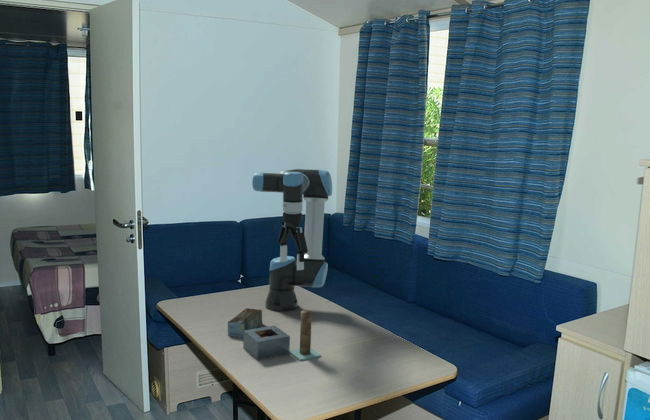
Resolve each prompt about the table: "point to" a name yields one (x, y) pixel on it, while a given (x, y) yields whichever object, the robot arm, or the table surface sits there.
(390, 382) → the table surface
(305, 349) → the brown rounded rod
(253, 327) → the beverage carton
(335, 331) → the table surface
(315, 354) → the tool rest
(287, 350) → the box
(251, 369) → the table surface
